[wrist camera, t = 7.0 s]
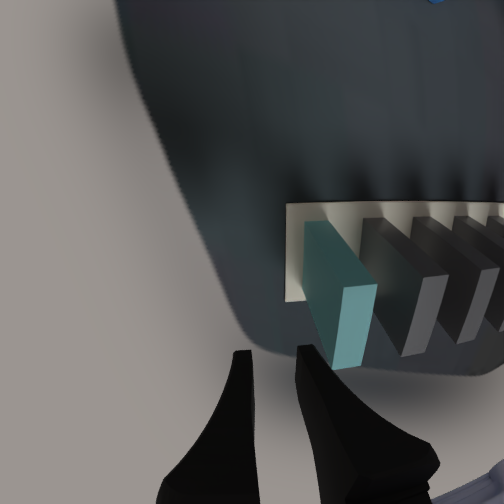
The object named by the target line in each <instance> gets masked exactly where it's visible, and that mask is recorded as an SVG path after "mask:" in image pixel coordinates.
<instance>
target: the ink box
mask: <svg viewBox="0 0 504 504" xmlns="http://www.w3.org/2000/svg"><path fill="white" fill-rule="evenodd" d="M429 1H430V2H431V3H433V4H435V3H438V2H441V1H444V0H429Z"/></svg>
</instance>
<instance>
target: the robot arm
mask: <svg viewBox="0 0 504 504" xmlns="http://www.w3.org/2000/svg"><path fill="white" fill-rule="evenodd" d="M295 383H296V389H297V395H298V401H299V404H300V408H301V411H302V415H303V418H304V421H305V425H306V428H307V432H308V435H309V438H310V442H311V446H312V450H313V455H314V461H315V466H316V472H317V479H318V486H319V492H320V500H321V504H504V459H503V460H501V461H500V462H498V463H497V464H496V465H495V466H494V467H493V468H492V469H491V470H490V471H489V473H486V474H485V475H483V476H481V477H479V478H477V479H475V480H473V481H471V482H469V483H467V484H465V485H463V486H461V487H459V488H456V489H454V490H452V491H450V492H448V493H445V494H443V495H441V496H438V497H436V498H434V499H430V497H429V494H428V492H427V491H428V490H429V489H430V487H429V484H428V482H427V481H428V480H429V479H430V478H431V477H432V476H433V474H434V473H435V472H436V471H437V469H438V468H439V466H440V461H439V459H438V457H437V454H436V453H435V451H434V449H433V448H432V446H431V445H430V443H428V442H426V441H424V440H421V439H419V438H417V437H415V436H412V435H410V434H408V433H407V432H405V431H403V430H401V429H399V428H398V427H396V426H395V425H393V424H392V423H390V422H388V421H386V420H385V419H384V418H382V417H381V416H380V415H378V414H377V413H376V412H374V411H373V410H372V409H371V408H369V407H368V406H367V405H366V404H364V403H363V402H362V401H361V400H360V399H359V398H358V397H357V396H356V395H355V394H353V392H352V391H351V390H350V389H349V388H348V387H347V386H346V385H345V384H344V383H343V382H342V381H341V380H340V379H339V377H338V376H337V375H336V374H335V373H334V372H333V370H332V369H331V368H330V367H329V365H328V364H327V363H326V361H325V360H324V359H323V357H322V356H321V355H320V353H319V352H318V350H317V349H316V347H315V346H314V345H313V344H310V345H300V346H297V359H296V373H295ZM254 423H255V399H254V379H253V361H252V352H251V350H239V351H235V352H234V353H233V360H232V365H231V369H230V372H229V376H228V379H227V382H226V385H225V387H224V390H223V393H222V395H221V397H220V400H219V402H218V404H217V406H216V408H215V410H214V412H213V414H212V416H211V418H210V420H209V422H208V424H207V425H206V427H205V428H204V430H203V431H202V433H201V435H200V436H199V438H198V439H197V441H196V442H195V443H194V445H193V446H192V447H191V449H190V450H189V451H188V453H187V454H186V455H185V456H184V457H183V459H182V460H181V461H180V462H179V463H178V464H177V465H176V467H175V468H174V469H173V470H172V471H171V472H170V473H169V474H168V475H167V476H166V477H165V478H164V479H163V482H162V484H161V487H160V489H159V492H158V495H157V499H156V504H260V497H259V487H258V477H257V467H256V457H255V447H254V425H255V424H254Z"/></svg>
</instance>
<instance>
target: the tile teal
mask: <svg viewBox="0 0 504 504" xmlns="http://www.w3.org/2000/svg"><path fill="white" fill-rule="evenodd" d="M377 285H378V284H377V283H376V281H375V280H374V278H373V277H372V276H371V274H370V273H369V272H368V270H367V269H366V268H365V266H364V265H363V264H362V263H361V261H360V260H359V259H358V257H357V256H356V255H355V253H354V252H353V251H352V249H351V248H350V247H349V246H348V244H347V243H346V242H345V240H344V239H343V238H342V237H341V235H340V234H339V233H338V232H337V230H336V229H335V228H334V227H333V225H332V224H331V223H330V222H329V220H324V221H304V254H303V280H302V290H303V292H304V295H305V298H306V300H307V303H308V306H309V309H310V311H311V314H312V317H313V319H314V322H315V325H316V328H317V330H318V333H319V336H320V339H321V342H322V344H323V347H324V350H325V353H326V356H327V358H328V361H329V364H330V367H331V369H332V370H335V369H342V368H349V367H355V366H361V362H362V358H363V354H364V349H365V345H366V340H367V336H368V331H369V327H370V322H371V317H372V312H373V307H374V301H375V296H376V290H377Z"/></svg>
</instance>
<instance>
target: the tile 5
mask: <svg viewBox="0 0 504 504" xmlns="http://www.w3.org/2000/svg"><path fill="white" fill-rule="evenodd" d="M486 227H487V228H489V229H490V230H492V231H493V232H495V233H496V234H498V235H499V236H501V237H502V238H504V218H502V217H501V216H488V217H487V222H486Z"/></svg>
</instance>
